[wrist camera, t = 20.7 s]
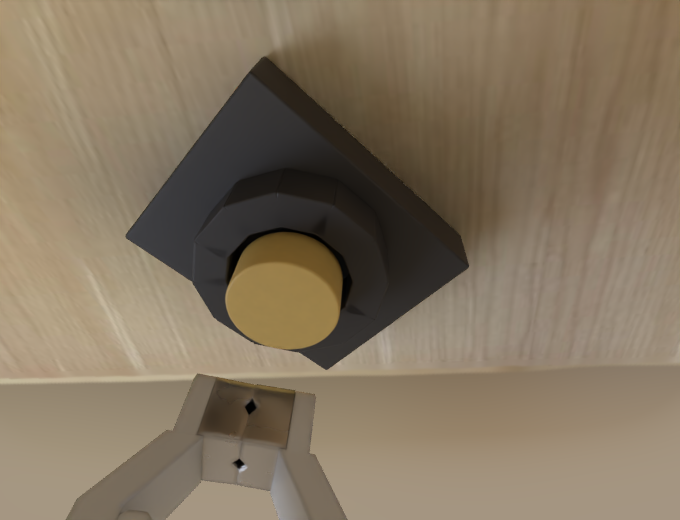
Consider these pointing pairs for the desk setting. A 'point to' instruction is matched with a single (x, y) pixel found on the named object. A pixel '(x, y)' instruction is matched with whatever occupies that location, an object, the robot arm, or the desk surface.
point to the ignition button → (285, 291)
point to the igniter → (298, 211)
